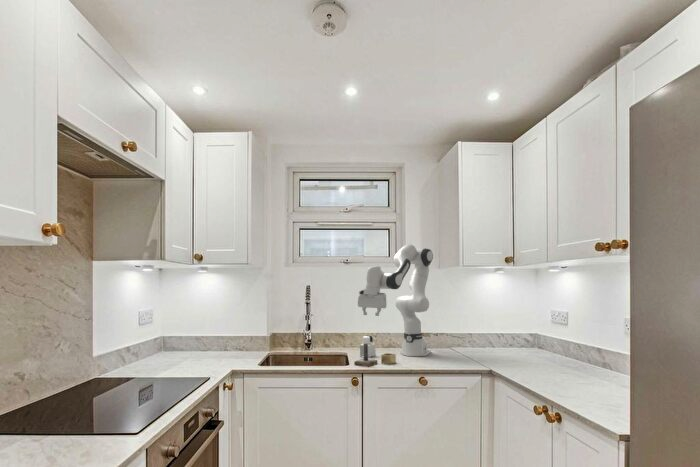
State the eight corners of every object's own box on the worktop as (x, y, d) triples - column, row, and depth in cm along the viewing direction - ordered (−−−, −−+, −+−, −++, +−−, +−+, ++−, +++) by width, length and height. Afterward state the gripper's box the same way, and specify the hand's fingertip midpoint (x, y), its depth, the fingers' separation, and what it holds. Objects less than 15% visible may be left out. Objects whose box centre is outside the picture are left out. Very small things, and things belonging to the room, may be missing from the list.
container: (365, 354, 275) (365, 334, 276) (375, 355, 271) (375, 335, 272) (359, 356, 268) (359, 336, 270) (370, 357, 264) (369, 337, 266)
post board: (363, 361, 252) (362, 341, 253) (377, 363, 246) (376, 343, 247) (354, 364, 243) (354, 344, 245) (368, 366, 238) (368, 345, 239)
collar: (386, 361, 252) (386, 353, 252) (395, 362, 248) (395, 354, 249) (381, 363, 247) (381, 354, 247) (390, 364, 243) (390, 355, 244)
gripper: (389, 293, 244) (387, 316, 241) (363, 292, 258) (361, 315, 255) (383, 292, 240) (381, 316, 237) (356, 291, 253) (355, 314, 250)
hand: (371, 315), depth 246 cm, fingers open, 8 cm apart
